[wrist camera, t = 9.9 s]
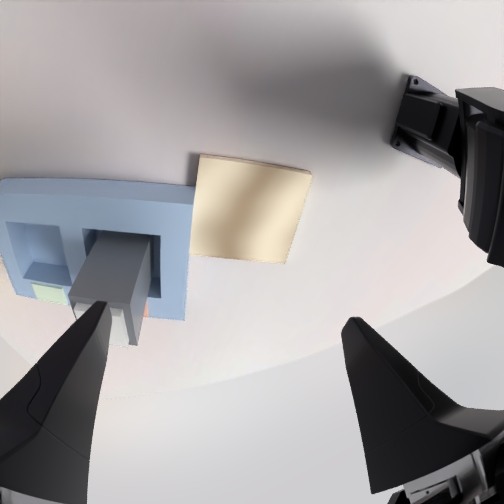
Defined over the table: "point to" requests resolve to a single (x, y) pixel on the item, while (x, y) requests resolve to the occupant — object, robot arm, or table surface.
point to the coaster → (246, 209)
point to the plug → (117, 282)
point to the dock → (93, 234)
